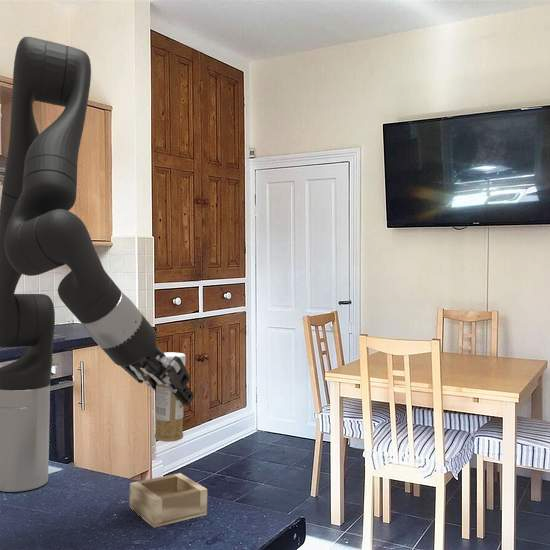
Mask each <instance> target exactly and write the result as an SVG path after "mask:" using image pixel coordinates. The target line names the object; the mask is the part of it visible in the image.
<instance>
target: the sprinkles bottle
mask: <svg viewBox="0 0 550 550" xmlns="http://www.w3.org/2000/svg"><path fill="white" fill-rule="evenodd" d="M163 353H164V354H165V356H166V358H168V359H171V360H172V359H173V358H174V357H175V356H177V357H179V358H180V359H181V360H182V362H183V364H184V366H185V367H186V356H187V355H186V354H185V353H182V352H172V351H170V352H169V351H168V352H166V351H165V352H163ZM165 372H166V370H165V371H164V372H163V373H162V375H160V377H162V376H163V375H164V373H165ZM169 381H170V382H171V383H172V381H171V379H169ZM172 384H173V383H172ZM183 424H184V405H183V404H182V403H181V401H180V400H179V399H178V398H177V397H176V396H175V395H174V393H173V392H172V391H171V390H170V389H169V388H168V387H167V386H165V385H164V384H162V385H160V384H158V383H157V385H156V392H155V434H154V439H155V440H156V441H159V442H164V443H165V442H166V443H168V442H171V443H172V442H177V441H180V440H182V439H183V438H184V431H183V428H184V426H183Z"/></svg>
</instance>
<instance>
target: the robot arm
mask: <svg viewBox="0 0 550 550" xmlns="http://www.w3.org/2000/svg"><path fill="white" fill-rule="evenodd" d="M91 78H92V65H91V58H90V57H89V55H88V53H87V52H86V51H84V50H82V49H79V48H77V47H73V46H70V45H65V44H63V43H59V42H53V41H50V40H44V39H42V38H37V37H32V36H23V37H22V38H21V39H20V40H19V42H18V44H17V48H16V51H15V56H14V63H13V74H12V92H11V93H12V94H11V110H10V128H9V137H8V138H9V140H8V148H7V155H6V162H5V168H4V176H3V183H2V189H1V196H0V197H1V198H0V349H1V348H22V347H24V348H25V347H26V348H27V347H28V348H27V351H26V353H25V354H23V355H22V356H21V357H20V358H18V359H16V360H15V361H12V362H11V363H8V364H6V365H3V366H0V492H7V493H13V492H14V493H15V492H24V491H30V490H35V489H38V488H40V487H43V486H44V485H46V484H47V483H48V481H49V462H50V461H49V459H50V458H49V456H50V417H51V415H50V414H51V413H50V412H51V409H50V408H51V400H50V399H51V374H52V367H53V349H54V338H55V337H54V336H55V325H56V322H55V321H56V315H55V314H56V310H55V305H54V303H53V300H52V299H51V297H50V296H49V295H47V294H44V293H15V291H16V289H17V287H18V284H19V281H20V279H21V277H22V275H25V276H27V277H32V276H33V277H34V276H40V275H42V274H44V273H47V272H50V271H52V270H55V269H58V268H60V267H62V266H64V265H65V266H67V267H69V269H70V271H69V273H67V274H66V275H65V276H64V277H63V278H62V279H61V281H60V282H59V285H58V286H57V294H58V297H59V299H60V301H61V302H63V305H65V306H66V308H68V309H67V310H69V311H70V312H71V313H72V314H73V316H74V317H75V318H76V319H77V320H78V321H79V322H80V323H81V324H82V326H83V328H84V329H85V331H86V332H87V334H88V335H89V336H90V337H91V338H92V340H93V341H94V342H95V343H96V344H97V345H98V346H99V347H100V348H101V350H102V351H103V352H104V353H105V354H106V355H107V356H108V358H109V359H110V360H111V361H112V362H113V363H114V364H115V365H117V366H119V367H121V368H122V369H123V370H124V371H125V372H126V373H127V374H128V375H130V376H131V377H132V378H133V379H134V380H135V381H137V382H138V383H139V384H143V382H144V384H145V385H146V386H147V387H149V388H152V389H153V391H154V392H155V393H156V385H157V383H158V384H160V385H162V384H164V385H165V386H167V387H168V388H169V389H170V390H171V391H172V392H173V393H174V395H175V396H176V397H177V398H178V399H179V400H180V401H181V403H182V404H183V406H186V407H188V406H189V405H190V404H191V402H192V401H193V400H194V398H195V394H194V393H193V392H192V390H191V389H190V388H189V386H188V383H189V382H190V381H191V377H190V374H189V372H188V371H187V369H186V365H185V366H184V364H183V362H182V360H181V359H180V358H179V357H177V356H175V357H174V358H173V359H172V360H171V359H168V358H166V356H165V354H164V353H165V352H164V351H162V350H161V349H160V348H158V347H157V337H158V335H157V332H156V330H155V328H154V327H153V326H152V325H151V324H150V322H149V321H148V320H147V318H146V317H145V316H144V315H143V313H141V311H140V310H139V309H138V307H137V306H136V305H135V303H134V302H133V301H132V300H131V299H130V298H129V297H128V296H127V295H126V294H125V293H124V292H122V290H121V289H120V288H119V286H118V285H117V284H116V283H115V282H114V280H113V279H112V278H111V277H110V276H109V274H108V273H107V272H106V270H105V269H104V266H103V263H102V262H101V260H100V257H99V255H98V252H97V251H96V248H95V246H94V244H93V241H92V238H91V236H90V232H89V230H88V228H87V227H86V224H85V223H84V221H83V220H82V219H81V218H80V217H79V216H78V215H76V214H75V213H74V212H71V211H70V210H71V209H72V208H73V207H74V205H75V203H76V201H77V200H76V199H77V193H78V191H77V189H78V187H77V186H78V163H79V162H78V161H79V160H78V159H79V151H80V147H81V140H82V138H83V132H84V127H85V122H86V121H85V120H86V114H87V108H88V102H89V94H90V89H91V81H92V79H91ZM34 102H40V103H43V104H44V103H45V104H49V105H54V106H59V107H63V108H64V109H63V110H62V112H61V113H60V114H59V116H58V117H57V118H56V119H55V120H54V121H52V123H51V124H50V125H48V126H47V127H46V128H45V129H43V130H42V131H41V133H39V130H38V126H37V124H36V120H35V115H34V111H33V104H34ZM165 370H166V372H165V373H164V375H163V376H162V377H160V375H162V373H163V372H164V371H165ZM169 379H171V381H172V383H173V384H172V383H171V382H170V381H169Z"/></svg>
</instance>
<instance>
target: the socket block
mask: <svg viewBox="0 0 550 550" xmlns="http://www.w3.org/2000/svg"><path fill="white" fill-rule="evenodd" d="M129 507H130V508H131V509H132V510H131V509H130V508H129V509H130V510H131V511H133V510H134V511H135V512H136V513H137V514H136V513H135V512H134V511H133V512H134V513H135V514H136V515H137V516H139V515H140V516H141V517H142V520H144V521H145V522H146V523H147V524H149V525H150V526H151V527H152V528H154V529H155V528H158V527H163V526H167V525H171V524H175V523H178V522H183V521H187V520H190V519H194V518H199V517H202V516H203V517H204V516H207V514H208V488H206V487H205V486H202V485H201V484H200V483H198V482H196V481H195V480H192V479H191V478H189V477H188V476H186V475H185V474H183V473H181V472H178V473H174V474H168V475H164V476H159V477H154V478H153V477H152V478H148V479H143V480H138V481H132V482H130V483H129ZM140 516H139V517H140ZM141 517H140V518H141Z"/></svg>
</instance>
